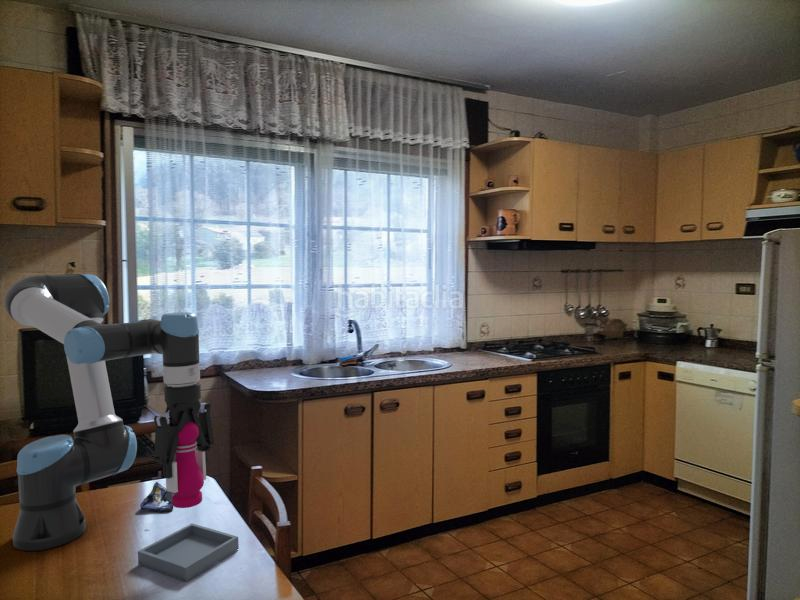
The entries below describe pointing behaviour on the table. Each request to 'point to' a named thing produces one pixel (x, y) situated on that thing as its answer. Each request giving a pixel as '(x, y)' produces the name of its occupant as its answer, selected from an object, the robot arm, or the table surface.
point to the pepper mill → (187, 469)
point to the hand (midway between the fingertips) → (186, 484)
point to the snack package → (158, 499)
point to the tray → (188, 551)
